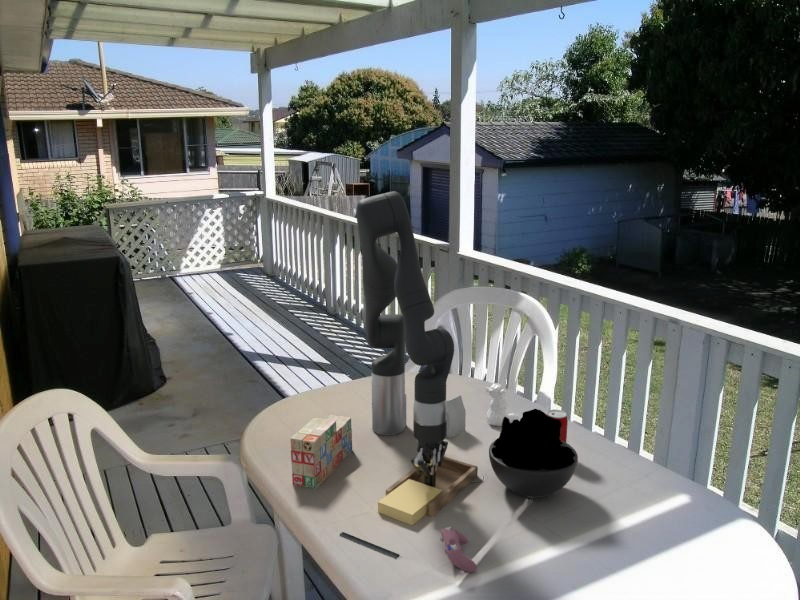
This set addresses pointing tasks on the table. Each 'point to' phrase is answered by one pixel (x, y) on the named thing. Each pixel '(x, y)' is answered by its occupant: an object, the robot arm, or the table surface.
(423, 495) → the cover plate
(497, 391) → the sitting furry creature
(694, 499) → the table surface
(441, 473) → the walnut box
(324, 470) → the stack of blocks
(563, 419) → the soda can
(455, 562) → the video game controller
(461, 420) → the grey gabled house block
